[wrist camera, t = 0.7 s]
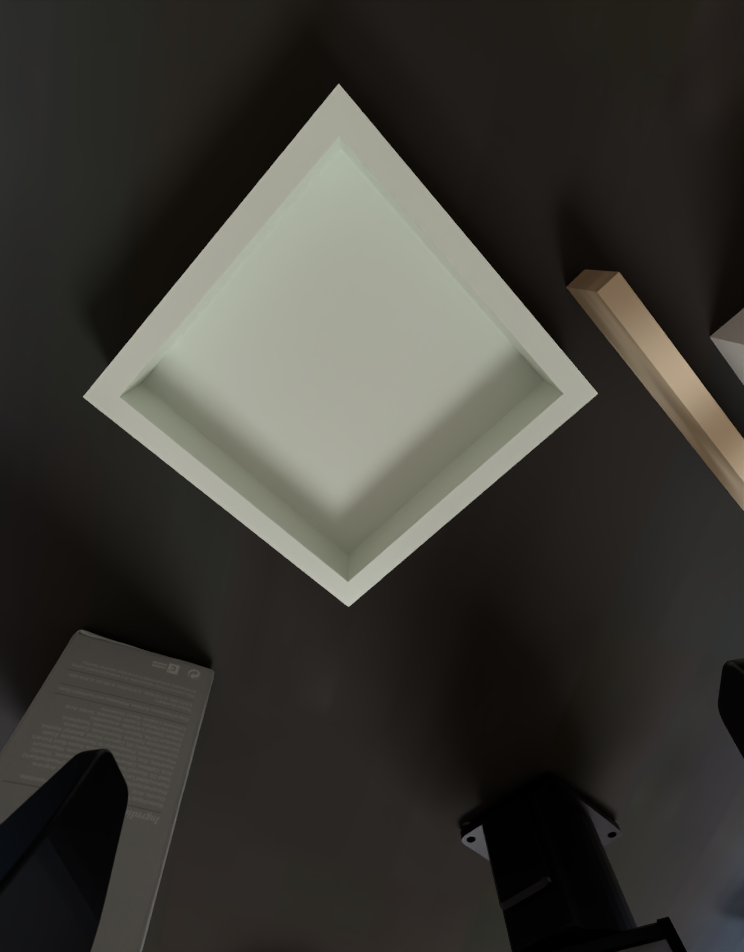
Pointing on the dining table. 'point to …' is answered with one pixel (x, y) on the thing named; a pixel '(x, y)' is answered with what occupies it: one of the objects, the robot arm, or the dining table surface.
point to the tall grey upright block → (732, 343)
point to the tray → (341, 361)
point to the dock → (663, 373)
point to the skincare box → (116, 758)
